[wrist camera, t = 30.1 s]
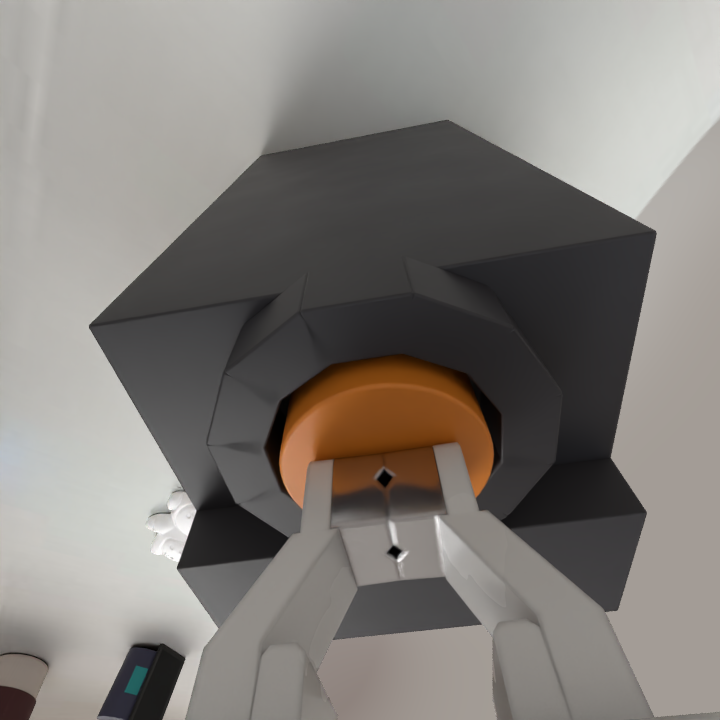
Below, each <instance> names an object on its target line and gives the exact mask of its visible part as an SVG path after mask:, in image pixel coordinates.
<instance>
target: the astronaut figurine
mask: <svg viewBox="0 0 720 720" xmlns="http://www.w3.org/2000/svg"><path fill="white" fill-rule="evenodd" d="M167 507H168V509H170V510H172V511H171V514H155V515H153V516H150V517H149V518H148V519H147V520H146V527H147V528H149V530H151V531H155V532H156V533H157V535H156V537H155V538H154V540H153V542H152V545H151V552H152V553H153V554H155V555H160V554H164V555H165V556H166V557H168V558H170V559H172V560H174V561H177V562H179V560H180V557H181V554H182V552H183V549H184V546H185V543H186V540H187V537H188V534H189V531H190V528H191V526H192V523H193V520H194V517H195V514H196V509H195V507H194V506H193V504H192V502H191V501H190V499H189V497H188V495H187V494H186V492H182V491H178V492H174V493H173V494H172V495H171V496H170V498H169V499H168V502H167Z"/></svg>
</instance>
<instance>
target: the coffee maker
mask: <svg viewBox="0 0 720 720" xmlns="http://www.w3.org/2000/svg"><path fill="white" fill-rule="evenodd" d="M646 514H647V512H646V510H645V509H644V507H643V506H642V504H641V503H640V501H639V500H638V498H637V497H636V495H635V494H634V492H633V491H632V489H631V488H630V486H629V485H628V483H627V482H626V480H625V479H624V478H623V476H622V474H621V473H620V471H619V470H618V468H617V467H616V465H615V464H614V462H613V461H612V459H611V458H607V459H599V460H591V461H584V462H576V463H568V464H560V465H553V466H551V467H550V468H549V469H548V471H547V472H546V473H545V474H544V475H543V476H542V478H541V479H540V480H539V481H538V482H537V483H536V484H535V486H534V487H533V488H532V489H531V490H530V491H529V493H528V494H527V495H526V496H525V497H524V498H523V500H522V501H521V502H520V503H519V504H518V505H517V506H516V508H515V509H514V510H513V511H512V512H511V513H510V514H508V515H507V517H506V518H504V519H502V520H500V521H501V522H502V523H503V524H504V525H506V526H507V527H508V528H509V529H510V530H512V531H513V532H514V533H515V534H516V535H517V536H519V537H520V538H521V539H522V540H523V541H524V542H526V543H527V544H528V545H529V546H530V547H532V548H533V549H534V550H535V551H536V552H537V553H539V554H540V555H541V556H542V557H543V558H544V559H546V560H547V561H548V562H549V563H550V564H552V565H553V566H554V567H555V568H556V569H557V570H559V571H560V572H561V573H562V574H563V575H564V576H566V577H567V578H568V579H569V580H570V581H571V582H573V583H574V584H575V585H576V586H577V587H579V588H580V589H581V590H582V591H583V592H584V593H586V594H587V595H588V596H589V597H590V598H591V599H593V600H594V601H595V602H596V603H597V604H599V605H600V606H601V607H602V608H603V609H604V611H605V612H609V611H617V610H618V608H619V605H620V601H621V598H622V595H623V591H624V588H625V584H626V581H627V578H628V575H629V571H630V568H631V565H632V561H633V558H634V554H635V551H636V547H637V545H638V541H639V538H640V535H641V531H642V528H643V525H644V521H645V518H646ZM288 539H289V537H287V536H286V535H284V534H282V533H281V532H279V531H278V530H276V529H275V528H273V527H272V526H270V525H269V524H267V523H266V522H264V521H262V520H261V519H259V518H258V517H256V516H255V515H253V514H252V513H250V512H249V511H247V510H245V509H244V508H242V507H241V506H234V507H226V508H219V509H211V510H203V511H196V514H195V517H194V520H193V523H192V526H191V528H190V531H189V534H188V537H187V540H186V543H185V546H184V549H183V552H182V554H181V557H180V560H179V563H178V566H177V570H178V571H179V573H180V574H181V575H182V577H183V578H184V580H185V581H186V583H187V584H188V585H189V587H190V588H191V590H192V591H193V593H194V594H195V595H196V597H197V598H198V600H199V601H200V602H201V604H202V605H203V607H204V608H205V610H206V611H207V612H208V614H209V615H210V617H211V618H212V619H213V621H214V622H215V624H216V625H217V627H218V628H220V627H221V626H222V624H223V623H224V622H225V620H226V619H227V618H228V616H229V615H230V614H231V613H232V611H233V610H234V609H235V607H236V606H237V605H238V604H239V602H240V601H241V600H242V598H243V597H244V596H245V594H246V593H247V592H248V591H249V589H250V588H251V587H252V585H253V584H254V583H255V582H256V580H257V579H258V578H259V576H260V575H261V574H262V573H263V571H264V570H265V569H266V567H267V566H268V565H269V563H270V562H271V561H272V560H273V558H274V557H275V556H276V554H277V553H278V552H279V551H280V549H281V548H282V547H283V545H284V544H285V543H286V541H287V540H288ZM357 589H358V590H357V592H356V594H355V596H354V598H353V600H352V602H351V604H350V606H349V608H348V610H347V612H346V614H345V616H344V618H343V620H342V622H341V624H340V626H339V628H338V630H337V632H336V634H335V636H334V638H333V640H336V639H345V638H355V637H365V636H375V635H384V634H394V633H404V632H414V631H424V630H433V629H443V628H452V627H463V626H472V625H482V624H481V622H480V621H479V620H478V619H477V617H476V616H475V615H474V614H473V612H472V611H471V610H470V609H469V607H468V606H467V605H466V604H465V602H464V601H463V600H462V598H461V597H460V596H459V595H458V593H457V592H456V591H455V590H454V588H453V587H452V586H451V585H450V583H449V582H448V581H447V580H446V577H435V578H423V579H412V580H400V581H393V582H386V583H379V584H371V585H364V586H357Z"/></svg>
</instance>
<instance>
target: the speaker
mask: <svg viewBox="0 0 720 720" xmlns="http://www.w3.org/2000/svg"><path fill="white" fill-rule="evenodd" d="M184 661H185V658H183V657H182V656H180V655H179V654H177V653H176V652H174V651H173V650H171V649H170V648H168V647H167V646H165V645H164V644H160V646H159V649H158V651H157V652H156V651H153V650H150V649H147V648H138V647H134V648H131V649H130V651H129V652H128V654H127V656H126V659H125V661H124V663H123V665H122V667H121V669H120V671H119V673H118V675H117V677H116V679H115V681H114V683H113V685H112V688H111V690H110V692H109V694H108V696H107V698H106V700H105V702H104V704H103V706H102V708H101V710H100V712H99V715H98V717H97V719H98V720H162V719H163V716H164V714H165V711H166V708H167V706H168V703H169V701H170V698H171V695H172V693H173V690H174V687H175V685H176V682H177V679H178V677H179V674H180V672H181V669H182V666H183V664H184Z"/></svg>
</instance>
